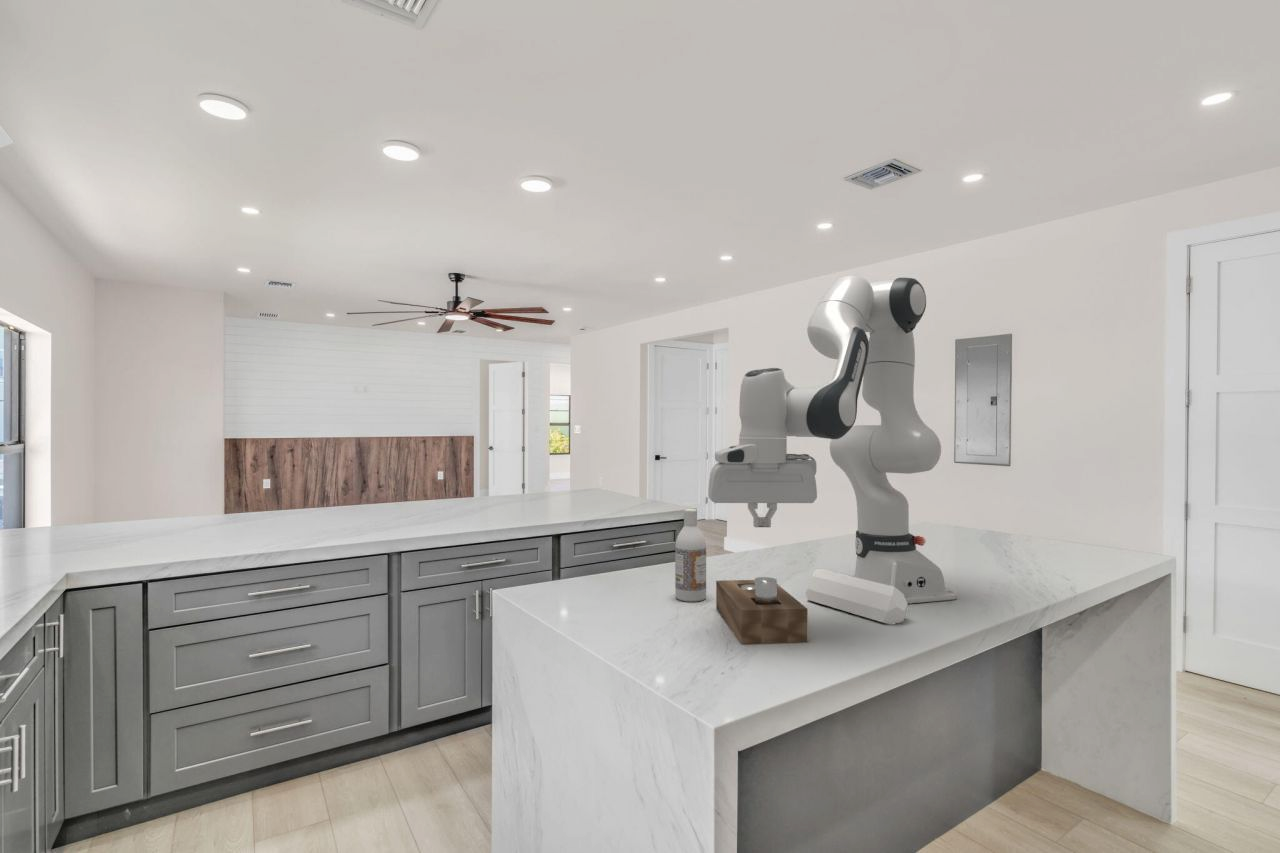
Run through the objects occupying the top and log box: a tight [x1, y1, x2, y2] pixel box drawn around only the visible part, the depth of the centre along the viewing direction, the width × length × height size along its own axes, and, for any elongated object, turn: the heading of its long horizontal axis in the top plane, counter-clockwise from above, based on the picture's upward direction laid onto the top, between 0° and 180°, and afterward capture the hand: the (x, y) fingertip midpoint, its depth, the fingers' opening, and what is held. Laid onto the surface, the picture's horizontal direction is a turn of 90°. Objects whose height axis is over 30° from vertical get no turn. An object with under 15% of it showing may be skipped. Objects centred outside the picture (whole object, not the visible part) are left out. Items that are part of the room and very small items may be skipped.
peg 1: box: [741, 584, 755, 590], centre depth 129 cm, size 4×4×6 cm
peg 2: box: [754, 576, 778, 605], centre depth 118 cm, size 4×4×6 cm
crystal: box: [805, 568, 909, 625], centre depth 133 cm, size 7×7×24 cm
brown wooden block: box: [715, 579, 808, 645], centre depth 123 cm, size 12×22×6 cm, turn 5°
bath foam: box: [674, 508, 707, 603], centre depth 142 cm, size 7×7×20 cm
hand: (762, 527), depth 119 cm, fingers closed
